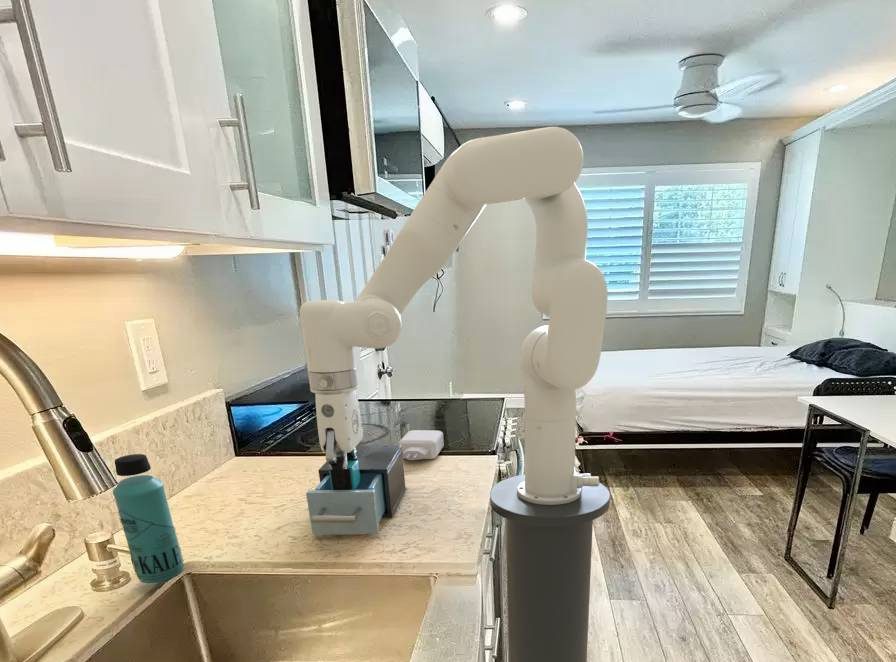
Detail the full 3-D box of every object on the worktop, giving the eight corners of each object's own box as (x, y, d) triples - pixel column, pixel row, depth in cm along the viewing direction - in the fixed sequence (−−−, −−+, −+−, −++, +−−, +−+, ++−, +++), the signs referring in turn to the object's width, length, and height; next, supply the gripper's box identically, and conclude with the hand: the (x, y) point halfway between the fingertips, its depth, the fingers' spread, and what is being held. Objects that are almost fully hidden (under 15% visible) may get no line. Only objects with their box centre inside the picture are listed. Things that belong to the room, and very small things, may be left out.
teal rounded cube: (360, 481, 101) (358, 460, 100) (354, 489, 98) (352, 467, 96) (338, 481, 101) (335, 460, 100) (331, 490, 98) (328, 468, 96)
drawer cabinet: (392, 517, 106) (387, 469, 103) (325, 518, 107) (318, 470, 103) (405, 488, 120) (401, 445, 116) (346, 489, 120) (340, 446, 117)
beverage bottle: (158, 570, 90) (124, 449, 82) (197, 571, 89) (166, 449, 81) (128, 592, 84) (89, 463, 76) (170, 594, 83) (135, 464, 75)
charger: (392, 467, 133) (408, 447, 146) (430, 468, 132) (444, 448, 145) (390, 448, 131) (407, 430, 145) (429, 448, 130) (442, 430, 144)
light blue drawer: (371, 547, 93) (366, 503, 90) (302, 548, 94) (295, 504, 91) (393, 503, 110) (389, 465, 107) (335, 504, 111) (329, 466, 108)
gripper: (341, 390, 85) (355, 503, 92) (368, 371, 100) (378, 469, 107) (292, 391, 85) (309, 504, 92) (326, 371, 101) (338, 469, 107)
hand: (346, 484), depth 99 cm, fingers closed on teal rounded cube, 4 cm apart
